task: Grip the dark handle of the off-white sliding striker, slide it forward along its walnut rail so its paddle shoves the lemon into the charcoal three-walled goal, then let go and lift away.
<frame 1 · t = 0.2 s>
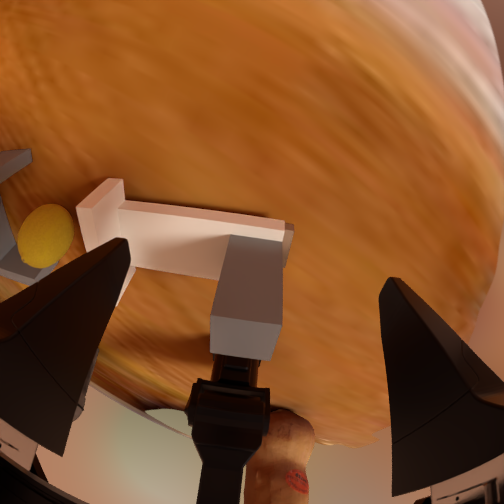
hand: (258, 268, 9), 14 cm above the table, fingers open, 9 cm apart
rail: (200, 230, 25), on the table
lemon: (68, 212, 25), on the table
goal: (18, 207, 25), on the table
striker: (175, 274, 20), point 6 cm above the table, slide at 0.0 cm
butternut squash: (279, 410, 50), on the table
beverage cup: (88, 344, 41), on the table
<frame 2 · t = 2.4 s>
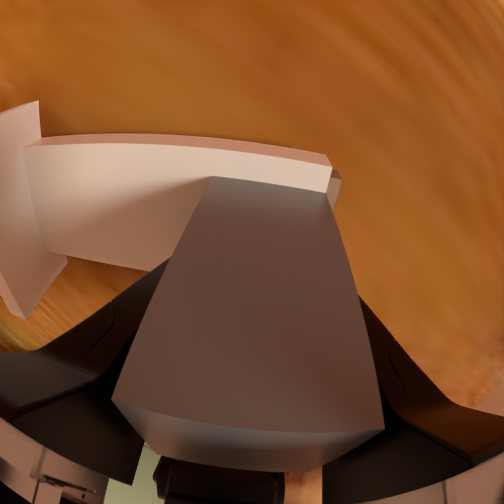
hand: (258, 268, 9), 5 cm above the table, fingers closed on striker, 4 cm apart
rail: (162, 186, 13), on the table
striker: (89, 262, 8), point 6 cm above the table, slide at 0.0 cm, touching gripper
butternut squash: (287, 443, 37), on the table
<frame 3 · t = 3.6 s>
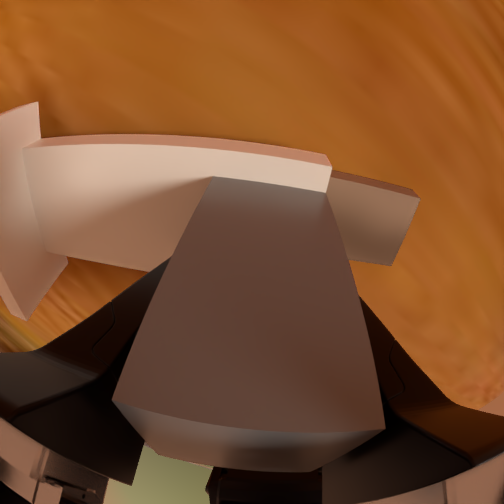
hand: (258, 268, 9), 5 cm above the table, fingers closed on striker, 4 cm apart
rail: (244, 196, 13), on the table
striker: (90, 263, 8), point 6 cm above the table, slide at 4.0 cm, touching gripper
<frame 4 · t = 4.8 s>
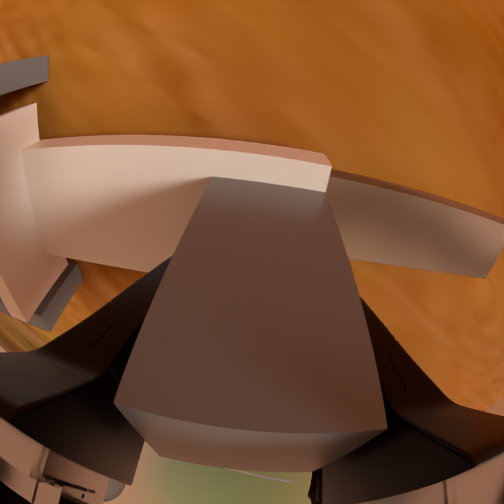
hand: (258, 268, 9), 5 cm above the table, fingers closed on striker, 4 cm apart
rail: (400, 223, 13), on the table
goal: (9, 181, 13), on the table
striker: (89, 264, 8), point 6 cm above the table, slide at 12.2 cm, touching gripper
beverage cup: (121, 389, 29), on the table
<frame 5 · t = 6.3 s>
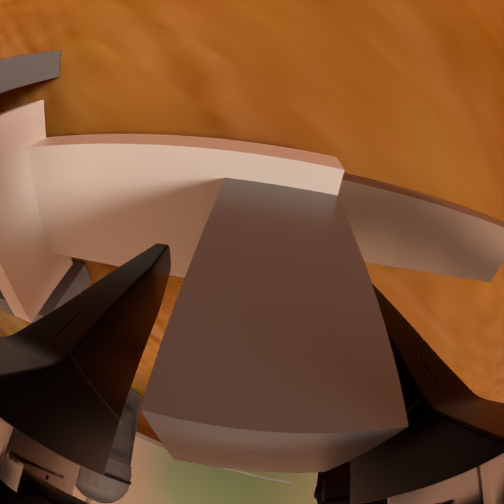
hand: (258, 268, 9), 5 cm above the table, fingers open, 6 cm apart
rail: (412, 227, 13), on the table
goal: (16, 179, 13), on the table
striker: (100, 265, 8), point 6 cm above the table, slide at 12.5 cm
beverage cup: (125, 390, 29), on the table
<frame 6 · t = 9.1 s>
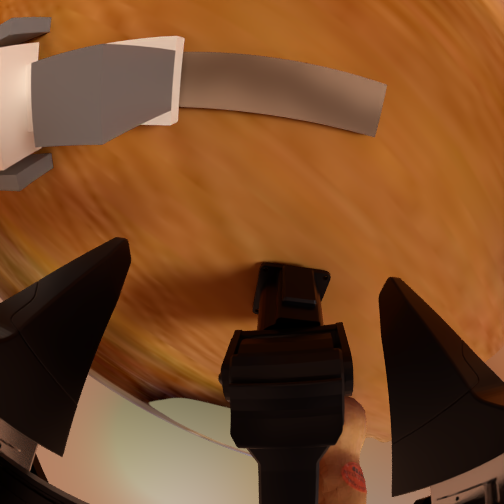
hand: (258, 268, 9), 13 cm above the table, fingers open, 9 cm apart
rail: (264, 84, 17), on the table
goal: (15, 100, 16), on the table
striker: (47, 95, 12), point 6 cm above the table, slide at 12.5 cm
butternut squash: (319, 392, 41), on the table
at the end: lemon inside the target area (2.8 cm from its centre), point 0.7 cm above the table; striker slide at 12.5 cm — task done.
